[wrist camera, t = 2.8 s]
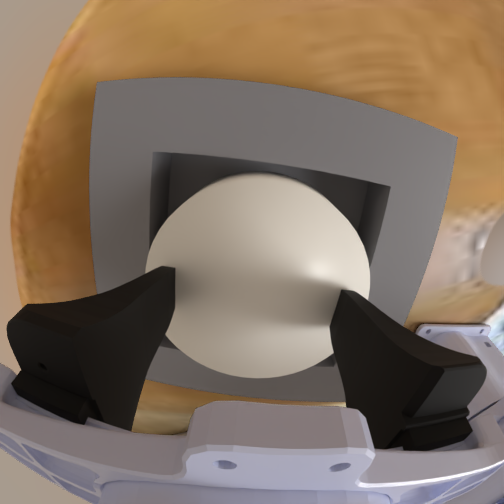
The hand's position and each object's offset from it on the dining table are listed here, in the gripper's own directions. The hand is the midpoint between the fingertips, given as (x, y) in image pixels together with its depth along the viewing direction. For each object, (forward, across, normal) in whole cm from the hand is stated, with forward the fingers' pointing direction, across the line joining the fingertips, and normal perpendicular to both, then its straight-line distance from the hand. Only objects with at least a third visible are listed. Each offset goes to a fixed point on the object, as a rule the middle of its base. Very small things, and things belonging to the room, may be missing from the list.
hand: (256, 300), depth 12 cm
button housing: (+6, 0, 0) cm, 6 cm away
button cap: (+3, 0, 0) cm, 3 cm away
